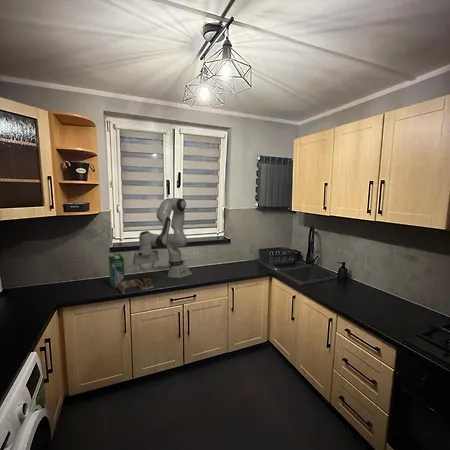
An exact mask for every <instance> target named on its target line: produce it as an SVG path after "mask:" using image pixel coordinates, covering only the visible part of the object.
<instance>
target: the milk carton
mask: <svg viewBox="0 0 450 450" xmlns="http://www.w3.org/2000/svg"><path fill="white" fill-rule="evenodd" d="M124 260H125V258H124V257H123V256H122V254H121V253H117V254H110V255H108V264H109V265H108V266H109V268H108V269H109V281H110V282H109V284H110V285H109V286H111V287H112V288H119V282H124V281H126V279H125V261H124Z"/></svg>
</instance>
